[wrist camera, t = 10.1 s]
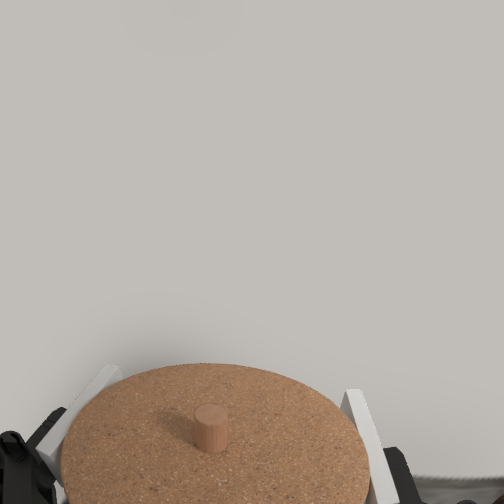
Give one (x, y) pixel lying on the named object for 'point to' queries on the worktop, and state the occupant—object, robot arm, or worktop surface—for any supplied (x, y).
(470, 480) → the worktop surface
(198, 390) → the lidded jar
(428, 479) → the worktop surface
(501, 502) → the tin
